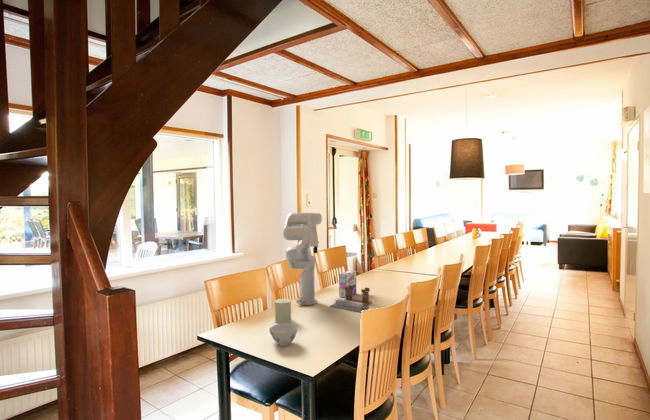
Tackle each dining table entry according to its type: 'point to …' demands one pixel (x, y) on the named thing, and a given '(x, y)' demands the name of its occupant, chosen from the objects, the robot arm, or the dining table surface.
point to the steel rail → (349, 304)
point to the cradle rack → (364, 299)
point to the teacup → (283, 333)
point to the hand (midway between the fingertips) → (311, 254)
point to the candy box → (347, 282)
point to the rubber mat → (349, 308)
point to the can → (282, 311)
